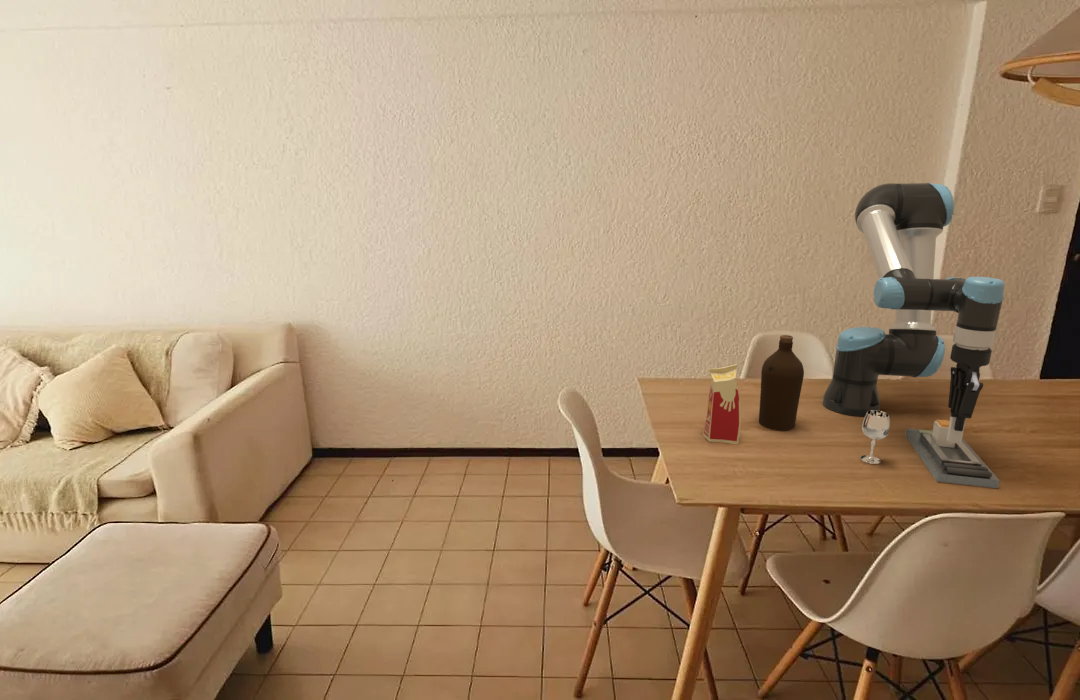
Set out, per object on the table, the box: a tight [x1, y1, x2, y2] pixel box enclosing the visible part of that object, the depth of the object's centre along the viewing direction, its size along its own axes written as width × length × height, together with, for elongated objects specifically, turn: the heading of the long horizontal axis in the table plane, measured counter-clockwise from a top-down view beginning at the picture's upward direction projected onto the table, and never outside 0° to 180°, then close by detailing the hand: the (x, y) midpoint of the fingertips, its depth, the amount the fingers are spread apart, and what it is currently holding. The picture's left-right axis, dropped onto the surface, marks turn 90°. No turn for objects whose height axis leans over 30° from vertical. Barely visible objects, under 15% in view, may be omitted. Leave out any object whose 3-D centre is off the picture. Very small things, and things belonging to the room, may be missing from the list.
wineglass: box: [859, 410, 891, 465], centre depth 151 cm, size 6×6×12 cm
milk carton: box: [702, 363, 742, 445], centre depth 163 cm, size 9×9×20 cm
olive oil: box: [758, 334, 805, 432], centre depth 169 cm, size 11×11×25 cm
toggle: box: [931, 419, 955, 448], centre depth 155 cm, size 4×4×6 cm
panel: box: [904, 427, 1001, 489], centre depth 152 cm, size 12×26×3 cm, turn 165°
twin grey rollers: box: [943, 463, 992, 478], centre depth 141 cm, size 9×4×1 cm, turn 75°
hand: (953, 441), depth 150 cm, fingers closed
